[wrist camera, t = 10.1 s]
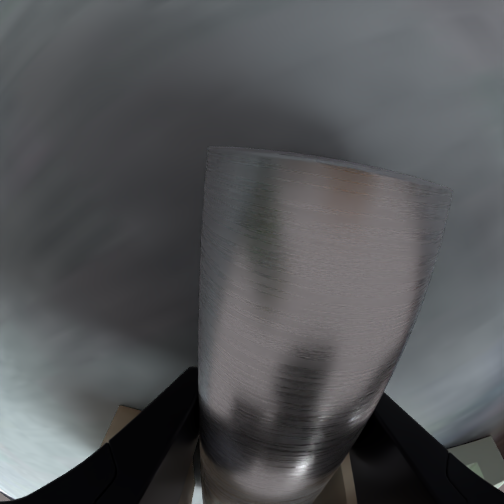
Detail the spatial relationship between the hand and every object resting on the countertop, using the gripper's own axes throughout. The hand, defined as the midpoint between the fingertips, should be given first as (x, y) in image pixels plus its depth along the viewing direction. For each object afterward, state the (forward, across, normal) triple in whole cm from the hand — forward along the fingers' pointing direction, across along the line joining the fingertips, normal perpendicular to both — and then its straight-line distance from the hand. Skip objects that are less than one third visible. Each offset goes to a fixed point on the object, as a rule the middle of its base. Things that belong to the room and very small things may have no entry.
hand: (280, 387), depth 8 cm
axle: (+1, 0, +2) cm, 2 cm away
